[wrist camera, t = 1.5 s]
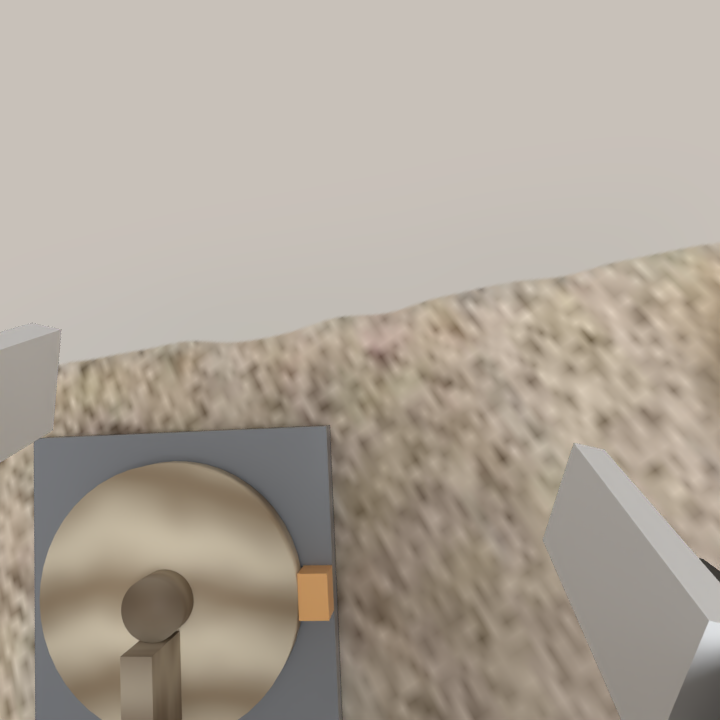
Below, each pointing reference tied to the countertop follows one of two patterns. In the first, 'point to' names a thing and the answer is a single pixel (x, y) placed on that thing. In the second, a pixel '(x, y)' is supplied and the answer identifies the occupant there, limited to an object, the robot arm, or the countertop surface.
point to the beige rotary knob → (170, 595)
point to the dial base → (267, 476)
